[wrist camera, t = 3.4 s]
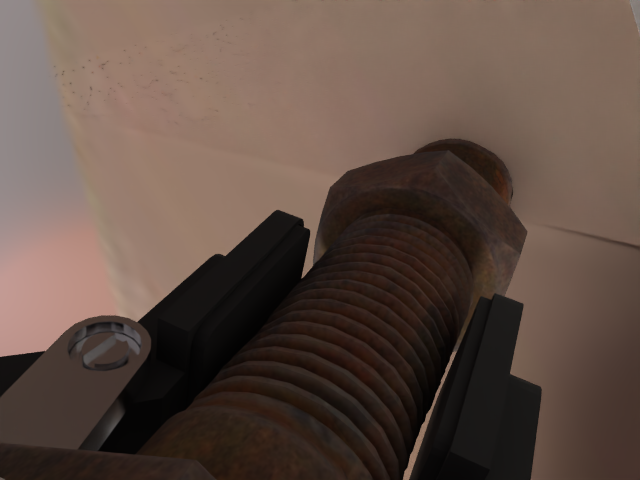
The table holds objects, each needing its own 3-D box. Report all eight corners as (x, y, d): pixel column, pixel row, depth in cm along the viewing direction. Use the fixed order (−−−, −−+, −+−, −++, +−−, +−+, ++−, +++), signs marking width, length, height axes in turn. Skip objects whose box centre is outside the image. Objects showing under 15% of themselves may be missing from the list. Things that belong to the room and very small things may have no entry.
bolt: (399, 65, 17) (-197, 458, 5) (583, 115, 15) (431, 879, 3) (360, 238, 20) (-56, 746, 8) (510, 294, 18) (291, 1022, 6)
